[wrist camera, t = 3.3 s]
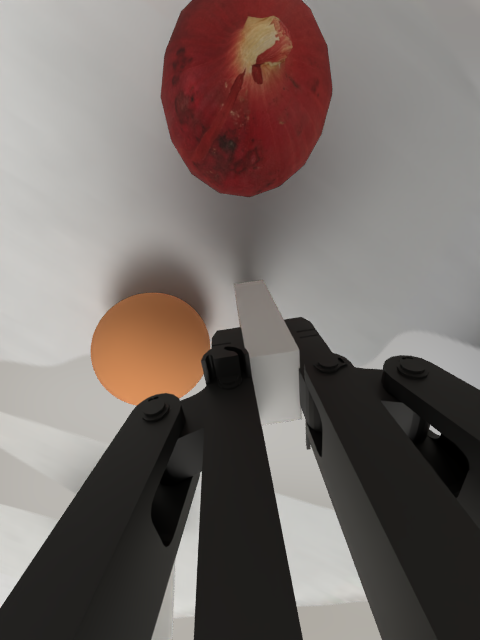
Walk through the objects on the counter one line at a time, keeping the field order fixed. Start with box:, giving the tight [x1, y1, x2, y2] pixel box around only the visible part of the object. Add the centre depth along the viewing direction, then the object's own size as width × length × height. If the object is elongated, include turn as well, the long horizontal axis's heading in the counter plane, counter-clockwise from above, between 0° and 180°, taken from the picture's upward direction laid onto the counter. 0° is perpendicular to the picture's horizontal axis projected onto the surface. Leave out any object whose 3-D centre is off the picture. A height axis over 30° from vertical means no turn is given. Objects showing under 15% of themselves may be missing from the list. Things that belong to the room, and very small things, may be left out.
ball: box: [91, 293, 210, 405], centre depth 14 cm, size 6×6×6 cm
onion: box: [161, 0, 332, 197], centre depth 9 cm, size 6×6×8 cm
